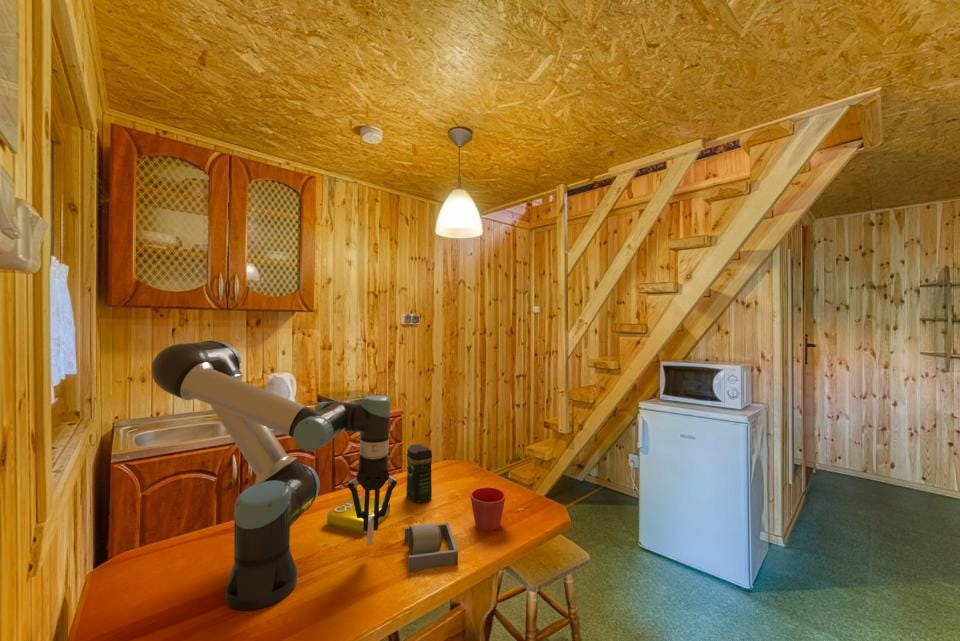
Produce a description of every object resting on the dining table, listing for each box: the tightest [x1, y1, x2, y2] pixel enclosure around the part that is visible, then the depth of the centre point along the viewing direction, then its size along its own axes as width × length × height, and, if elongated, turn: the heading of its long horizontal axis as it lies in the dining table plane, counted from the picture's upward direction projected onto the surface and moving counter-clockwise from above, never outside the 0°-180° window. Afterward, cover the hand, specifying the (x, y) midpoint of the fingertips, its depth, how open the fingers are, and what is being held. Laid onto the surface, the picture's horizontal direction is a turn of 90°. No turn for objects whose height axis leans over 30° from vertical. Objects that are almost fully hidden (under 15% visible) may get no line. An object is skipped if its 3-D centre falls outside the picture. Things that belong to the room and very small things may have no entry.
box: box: [404, 522, 459, 572], centre depth 114 cm, size 13×15×4 cm
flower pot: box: [470, 486, 506, 532], centre depth 129 cm, size 11×11×10 cm
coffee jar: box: [406, 443, 433, 503], centre depth 147 cm, size 10×8×19 cm
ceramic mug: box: [407, 523, 442, 556], centre depth 115 cm, size 11×8×8 cm
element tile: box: [326, 495, 391, 535], centre depth 131 cm, size 15×15×5 cm
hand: (369, 541), depth 110 cm, fingers closed
